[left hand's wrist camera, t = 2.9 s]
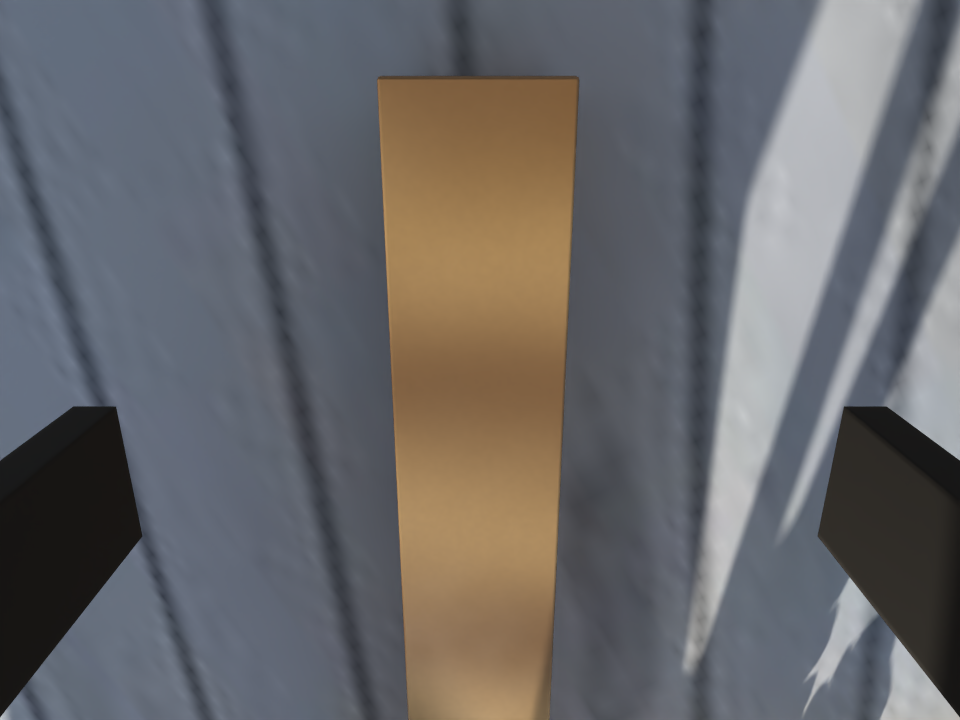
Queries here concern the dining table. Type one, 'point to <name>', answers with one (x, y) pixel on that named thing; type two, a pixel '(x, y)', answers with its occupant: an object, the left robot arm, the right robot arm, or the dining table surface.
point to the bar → (478, 378)
